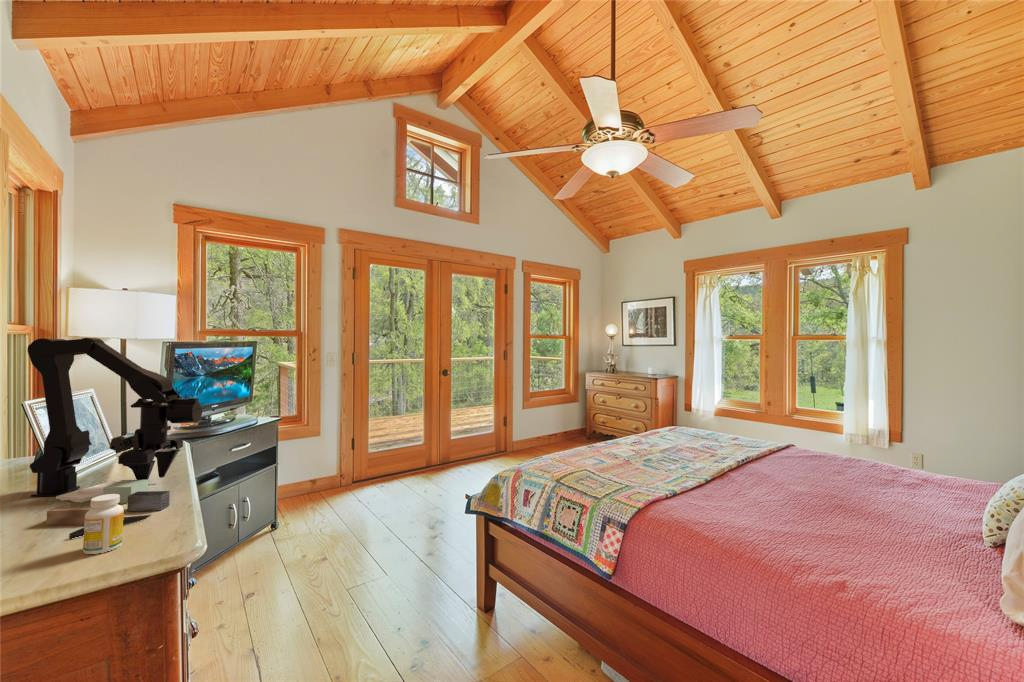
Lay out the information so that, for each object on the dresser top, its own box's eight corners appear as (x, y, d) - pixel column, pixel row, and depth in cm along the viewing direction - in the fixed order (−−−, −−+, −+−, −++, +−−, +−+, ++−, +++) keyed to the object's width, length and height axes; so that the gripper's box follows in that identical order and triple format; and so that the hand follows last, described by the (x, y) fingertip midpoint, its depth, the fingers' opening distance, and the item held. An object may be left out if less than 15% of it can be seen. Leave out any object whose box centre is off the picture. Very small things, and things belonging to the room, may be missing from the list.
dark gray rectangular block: (127, 511, 100) (127, 495, 100) (136, 506, 103) (137, 491, 103) (160, 510, 101) (161, 495, 101) (169, 505, 103) (169, 490, 104)
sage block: (102, 504, 104) (103, 487, 104) (121, 495, 110) (122, 480, 110) (130, 503, 105) (131, 486, 105) (147, 495, 111) (148, 479, 111)
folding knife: (150, 519, 96) (151, 509, 96) (152, 520, 96) (153, 511, 96) (68, 539, 85) (69, 529, 85) (70, 541, 85) (70, 531, 85)
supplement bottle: (84, 558, 78) (86, 504, 78) (81, 549, 81) (83, 497, 81) (124, 548, 82) (126, 496, 82) (119, 539, 85) (121, 490, 85)
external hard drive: (135, 488, 117) (81, 504, 105) (110, 486, 119) (55, 501, 107) (135, 482, 117) (82, 497, 105) (111, 480, 119) (55, 495, 107)
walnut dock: (46, 525, 91) (47, 511, 91) (67, 516, 96) (68, 502, 96) (96, 523, 93) (97, 509, 93) (115, 514, 98) (115, 501, 98)
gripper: (140, 418, 124) (138, 473, 124) (93, 431, 106) (91, 495, 105) (184, 418, 126) (183, 472, 126) (146, 429, 108) (145, 492, 108)
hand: (152, 482), depth 116 cm, fingers open, 8 cm apart
